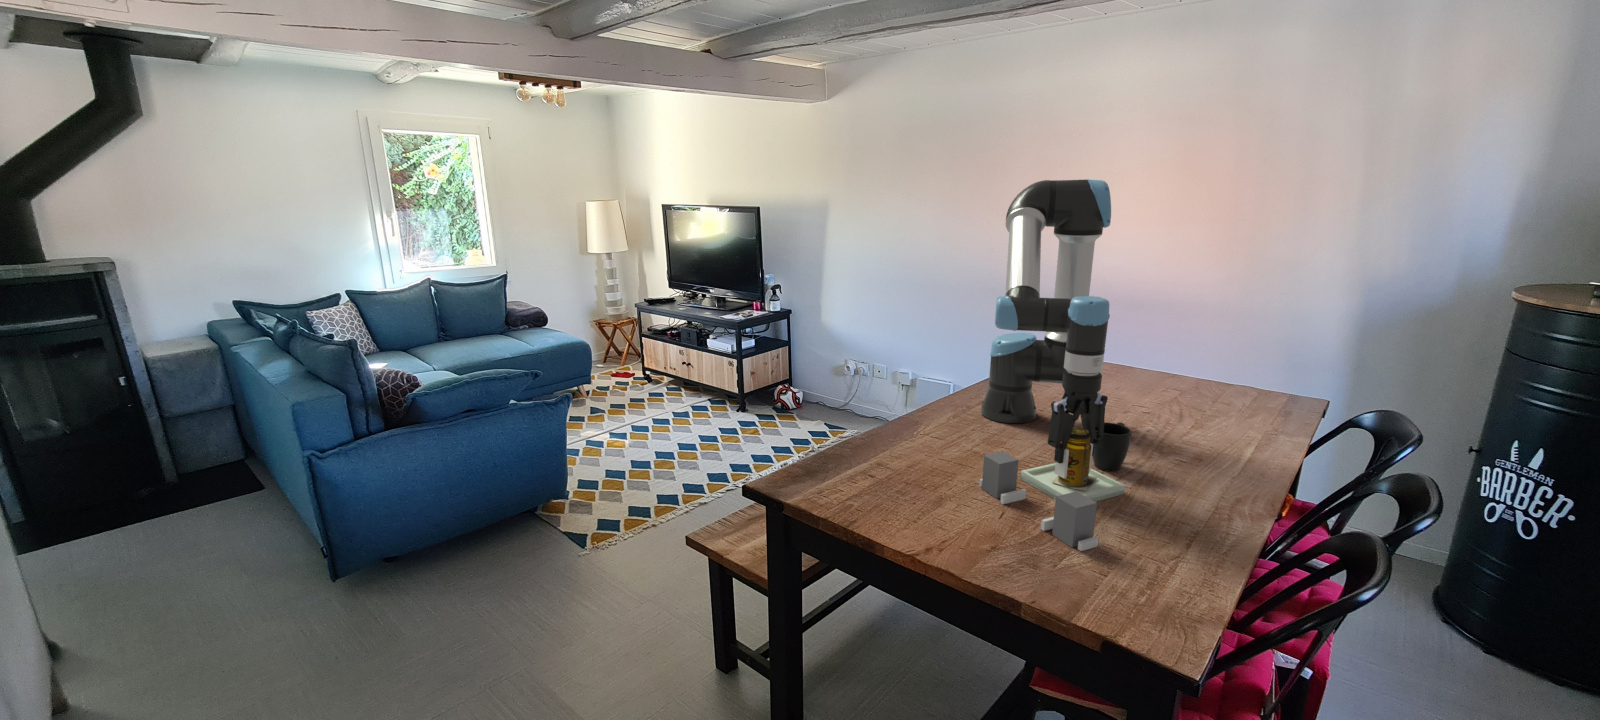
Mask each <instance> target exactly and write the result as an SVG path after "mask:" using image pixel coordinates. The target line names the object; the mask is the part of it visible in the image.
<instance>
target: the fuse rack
mask: <svg viewBox="0 0 1600 720" xmlns="http://www.w3.org/2000/svg"><path fill="white" fill-rule="evenodd" d="M982 465H983V466H982V467H983V468H982V478H979V480H978V481H979V483H978V486H979V487H980V488H981V490H983V491H984V492H986V493H987V494H989V495H991V496H992V497H993V498H995V499H997V500H998V499H1000V504H1001V505H1006V504H1011V503H1014V502H1019V501H1022V500H1026V498H1027V490H1026V489H1025V488H1021V489H1018V490H1017V482H1018V469H1019V458H1018V459H1017V458H1016V457H1014V456H1013V455H1010V454H1009V453H1007V452H1004V451H1002V450H1001V451H999V452H998V451H997V452H994V453H988V454H984V455H983V464H982ZM1097 507H1098V501H1096V502H1095V501H1093V500H1091V499H1089V498H1088V497H1086V496H1084V495H1082V494H1080V493H1078V492H1077V491H1076V492H1072V493H1068V494H1064V495H1060V496H1056V499H1055V501H1054V514H1053V516H1050V517H1046V518H1044V519H1041V520H1040V521H1041V522H1040V530H1042V531H1043V532H1046V531H1049V530H1052V531H1051V532H1052V534H1051V535H1052V536H1053V537H1055V538H1057V539H1058V540H1059V541H1061V542H1063V543H1064V544H1066V545H1068V546H1069V548H1071V549H1072V548H1075V547H1076V548H1077V550H1078V551H1080V552H1082V551H1083V552H1084V551H1087V550H1089V549H1093V548H1097V547H1098V545H1099V538H1098V537H1096V536H1095V535H1094V534H1095V525H1096V516H1097Z"/></svg>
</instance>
